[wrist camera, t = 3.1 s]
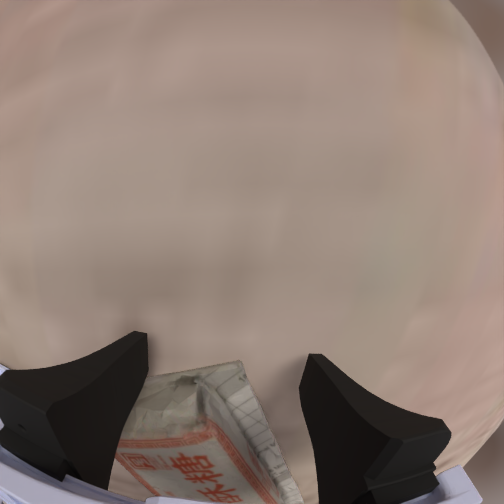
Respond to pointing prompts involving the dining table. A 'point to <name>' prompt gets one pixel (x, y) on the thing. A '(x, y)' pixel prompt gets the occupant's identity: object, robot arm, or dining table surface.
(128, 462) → the packaged product
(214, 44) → the dining table surface
